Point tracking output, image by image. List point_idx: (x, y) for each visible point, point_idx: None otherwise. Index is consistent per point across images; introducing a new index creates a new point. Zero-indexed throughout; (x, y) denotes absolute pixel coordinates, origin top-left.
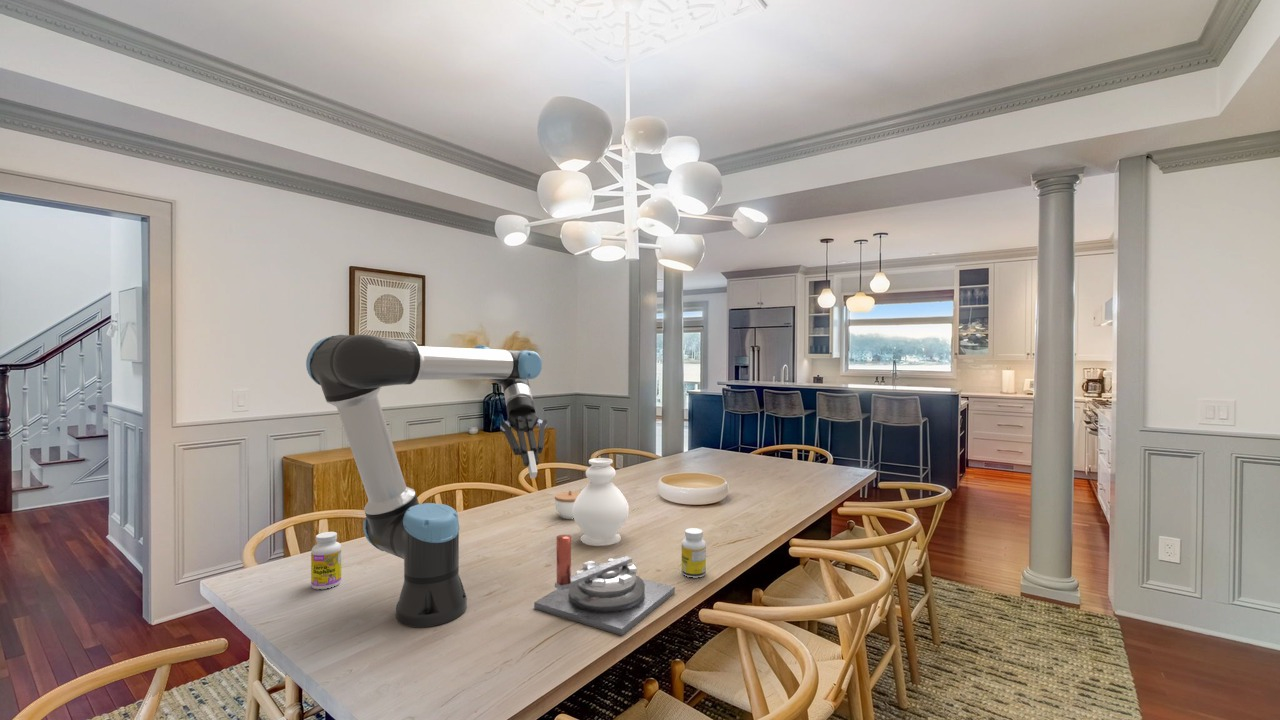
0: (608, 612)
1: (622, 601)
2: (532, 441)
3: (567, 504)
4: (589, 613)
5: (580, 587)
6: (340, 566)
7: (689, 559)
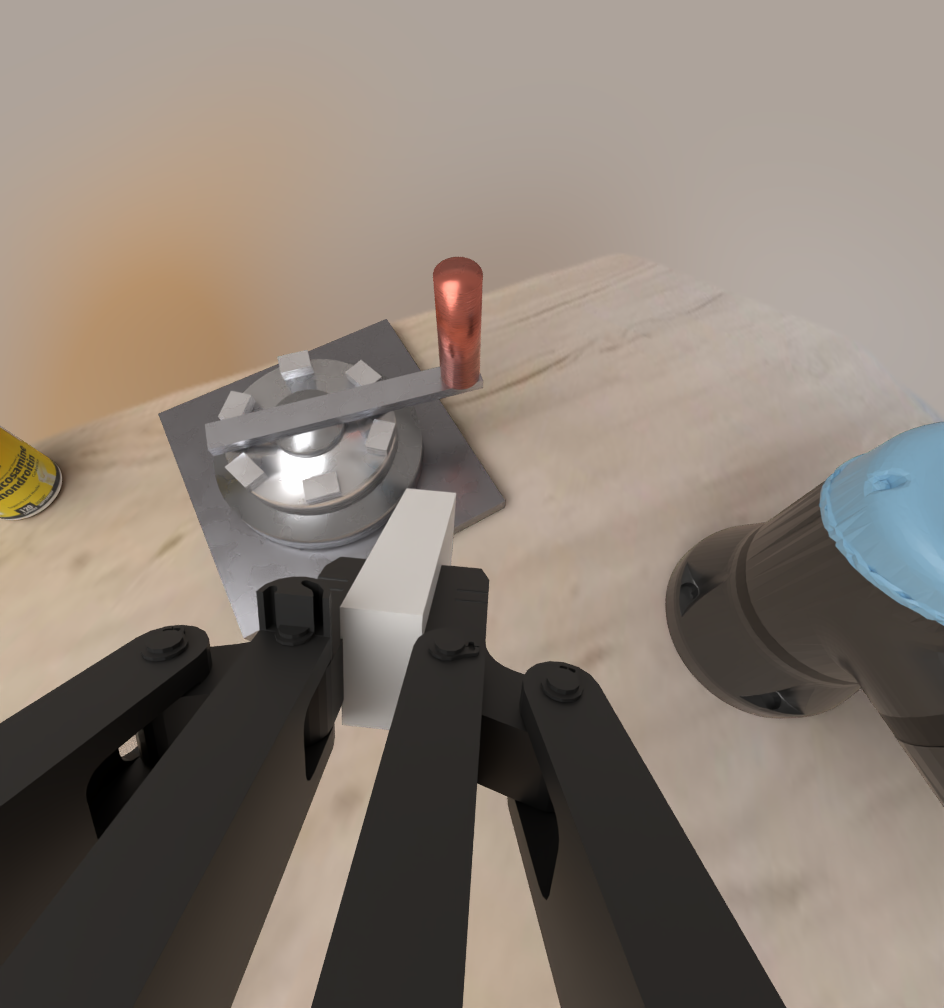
0: None
1: None
2: (237, 753)
3: None
4: None
5: (397, 431)
6: None
7: (21, 444)
